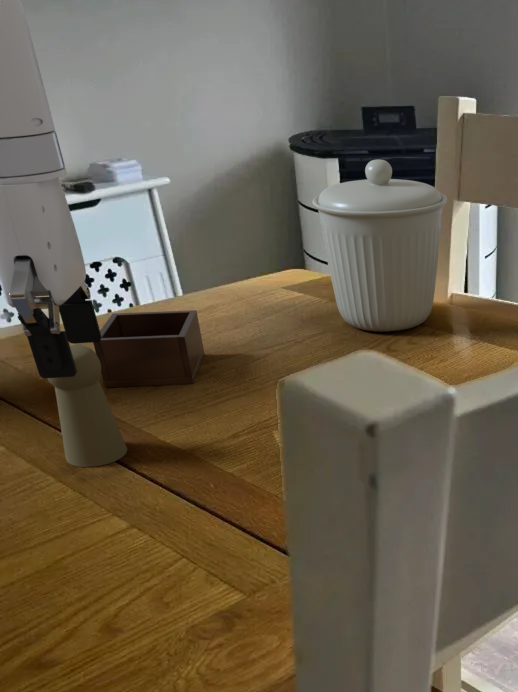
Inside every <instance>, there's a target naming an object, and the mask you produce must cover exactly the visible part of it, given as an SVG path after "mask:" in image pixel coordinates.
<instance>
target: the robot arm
mask: <svg viewBox="0 0 518 692" xmlns="http://www.w3.org/2000/svg"><path fill="white" fill-rule="evenodd" d="M67 174H68V173H67V168H66V165H65V161H64V157H63V154H62V149H61V146H60V142H59V138H58V134H57V131H56V127H55V123H54V120H53V116H52V112H51V109H50V104H49V101H48V95H47V93H46V90H45V84H44V82H43V78H42V74H41V71H40V67H39V62H38V59H37V56H36V51H35V47H34V44H33V40H32V36H31V32H30V28H29V24H28V20H27V16H26V13H25V9H24V6H23V3H22V0H0V288H1V291H2V295H3V298H4V300H5V302H6V304H7V305H9V306H10V307H11V308H13V309H15V310H16V312H17V319H18V321H20V323H21V324H22V330H23V333H24V335H25V336H26V338H27V340H28V344H29V348H30V350H31V354H32V356H33V360H34V363H35V365H36V369H37V372H38V375H39V377H41V378H42V379H47V378H60V377H73V376H75V375H76V373H77V369H76V366H75V362H74V359H73V356H72V352H71V349H70V344H72V345H75V344H92V343H93V342H99V341H100V340H101V338H102V337H101V333H100V330H101V329H100V325H99V322H98V318H97V315H96V310H95V307H94V304H93V300H92V299H91V290H90V287H89V285H88V284H87V283H86V278H87V270H86V264H85V260H84V255H83V250H82V247H81V244H80V243H81V242H80V239H79V237H78V232H77V230H76V227H75V222H74V220H73V216H72V213H71V210H70V207H69V204H68V201H67V197H66V194H65V191H64V188H63V185H62V183H61V180H60V179H61V178H64V177H65V176H67ZM43 310H47V313H48V315H46V313H45V312H44V311H43ZM61 322H62V325H63V329H64V330H61Z"/></svg>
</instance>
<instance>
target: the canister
mask: <svg viewBox="0 0 518 692" xmlns="http://www.w3.org/2000/svg"><path fill="white" fill-rule="evenodd" d="M364 173H365V177H366V179H358V180H350V181H343V182H340V183H336V184H332V185H330V186H328V187H326V188H324V189H323V190H322V191H321V192H320V194H318V195H317V196H315V197H313V199H312V203H311V204H312V205H313V207H314V208H315V209H316V210H317V211H318V216H319V222H320V227H321V233H322V239H323V242H324V248H325V253H326V259H327V264H328V269H329V274H330V280H331V284H332V289H333V293H334V297H335V298H334V299H335V303H336V306H337V308H338V312H339V314H340V316H341V318H342V319H343V320H344V322H345V323H347V324H348V325H349V326H352V327H353V328H356V329H359V330H363V331H368V332H380V333H381V332H383V333H384V332H385V333H387V332H399V331H404V330H409V329H413V328H415V327H417V326H420V325H421V324H424V322H426V320H427V319H428V317H430V315H431V313H432V309H433V306H434V302H435V301H434V300H435V291H436V282H437V276H438V275H437V273H438V265H439V264H438V263H439V253H440V252H439V251H440V240H441V229H442V219H443V217H442V216H443V208H444V207H445V206H446V204H447V203H448V197H447V195H446V194H444V193H442V192H440V191H439V190H438V189H437V188H436V187H435V186H433V185H430V184H428V183H425V182H421V181H417V180H411V179H410V180H409V179H397V178H392V175H393V168H392V166H391V164H390V163H389V162H388V161H387V160H385V159H373V160H370V161H369V162H368V163H367V164H366V166H365V169H364Z"/></svg>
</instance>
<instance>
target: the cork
mask: <svg viewBox="0 0 518 692" xmlns="http://www.w3.org/2000/svg"><path fill="white" fill-rule="evenodd" d="M69 345H70V344H69ZM70 349H71V352H72V356H73V359H74V362H75V366H76V369H77V373H76V375H75V376H73V377H60V378H46V380H47V381H48V382H49V383H50V384H51V385H52V386H53V387H54V391H55V397H56V403H57V405H56V406H57V410H58V418H59V423H60V430H61V431H60V432H61V437H62V442H63V443H62V444H63V450H64V456H65V460H66V463H68V464H69V465H71V466H75V467H79V468H92V467H93V468H94V467H100V466H105V465H109V464H112V463H114V462H116V461H119V460H120V459H122V458H123V457H124V456H125V455H126V454H127V451H128V447H127V445H126V443H125V440H124V438H123V435H122V432H121V431H120V428H119V425H118V423H117V421H116V419H115V416H114V414H113V411H112V409H111V406H110V404H109V401H108V399H107V396H106V394H105V391H104V389H103V386H102V385H101V382H100V380H99V379H100V378H101V376H102V374H101V364H100V360H99V358H98V357H97V355H96V352H95V350H93V349H92V348H90V347H88V346H86V345H81V344H72V345H70Z"/></svg>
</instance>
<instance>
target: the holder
mask: <svg viewBox="0 0 518 692" xmlns="http://www.w3.org/2000/svg"><path fill="white" fill-rule="evenodd" d="M100 333H101V337H102V338H101V340H100V341H99V342H92V343H93V348H94V352H95V353H96V355H97V357H98V358H99V360H100V364H101V378H102V381H103V385H104V388H105V389H109V388H128V387H129V388H130V387H149V386H152V387H153V386H168V385H169V386H171V385H173V386H174V385H191V384H192V385H193V384H194V383H195V381H196V377H197V375H198V373H199V370H200V368H201V364H202V362H203V360H204V357H205V349H204V344H203V339H202V338H203V337H202V333H201V328H200V321H199V316H198V310H194V309H193V310H191V309H189V310H168V311H165V310H163V311H144V312H142V311H141V312H139V311H138V312H120V313H117V312H116V313H115V312H114V313H112V314H111V315H110V316H109V317H108V319H107V320H106V321H105V323H104V324H103V326H102V327H101V329H100Z"/></svg>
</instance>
